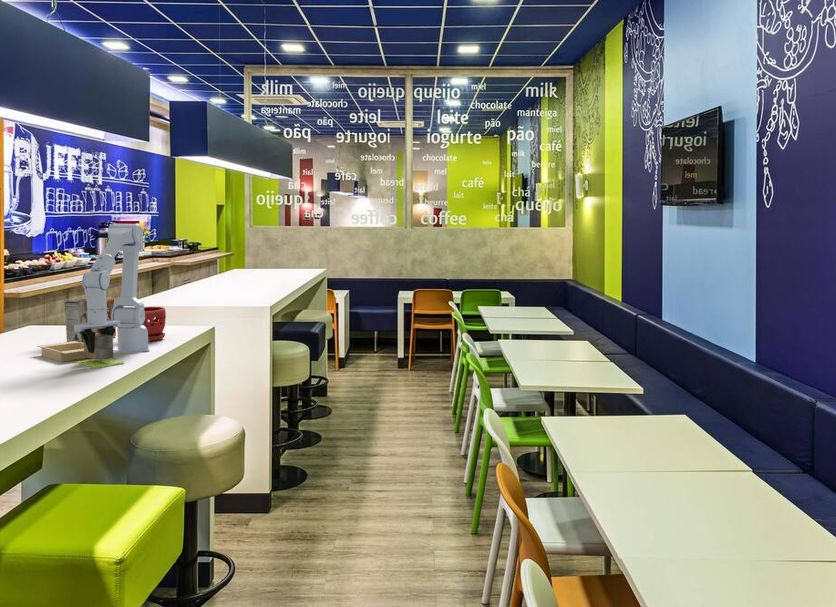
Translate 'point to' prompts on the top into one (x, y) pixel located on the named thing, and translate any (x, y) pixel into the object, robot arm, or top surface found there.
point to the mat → (99, 362)
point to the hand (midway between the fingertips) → (98, 351)
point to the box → (100, 347)
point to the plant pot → (155, 322)
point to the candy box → (109, 312)
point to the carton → (63, 351)
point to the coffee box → (75, 318)
